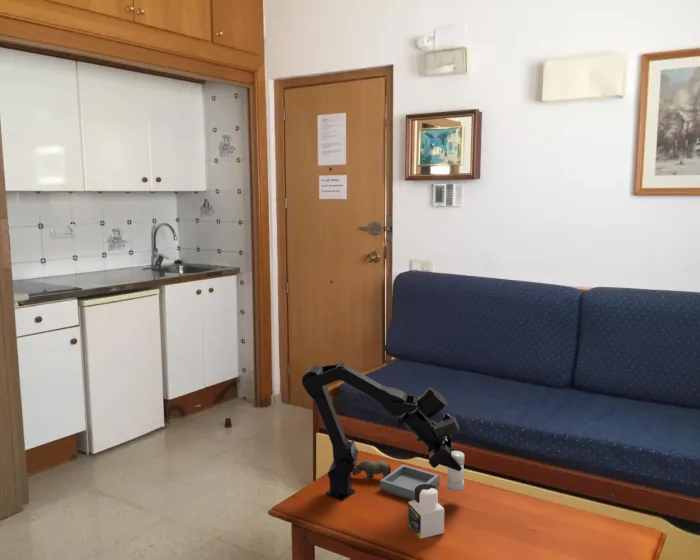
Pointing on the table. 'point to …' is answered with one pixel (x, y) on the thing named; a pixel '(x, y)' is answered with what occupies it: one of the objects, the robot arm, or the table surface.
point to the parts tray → (407, 481)
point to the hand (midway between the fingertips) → (460, 465)
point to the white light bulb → (456, 473)
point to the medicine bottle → (426, 512)
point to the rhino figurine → (372, 468)
